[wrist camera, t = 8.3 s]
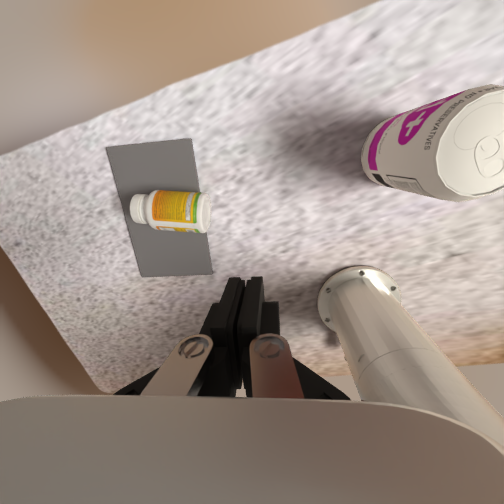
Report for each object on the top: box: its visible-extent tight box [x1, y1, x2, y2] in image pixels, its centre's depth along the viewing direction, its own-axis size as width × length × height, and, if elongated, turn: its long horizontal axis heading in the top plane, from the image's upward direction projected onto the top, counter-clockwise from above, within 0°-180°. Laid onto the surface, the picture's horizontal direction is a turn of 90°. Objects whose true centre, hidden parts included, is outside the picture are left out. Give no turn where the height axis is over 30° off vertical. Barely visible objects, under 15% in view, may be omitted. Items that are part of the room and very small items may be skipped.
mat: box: [106, 138, 213, 277], centre depth 36 cm, size 20×12×1 cm, turn 5°
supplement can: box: [361, 84, 504, 202], centre depth 24 cm, size 8×8×15 cm
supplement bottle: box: [130, 190, 211, 233], centre depth 33 cm, size 5×5×10 cm
